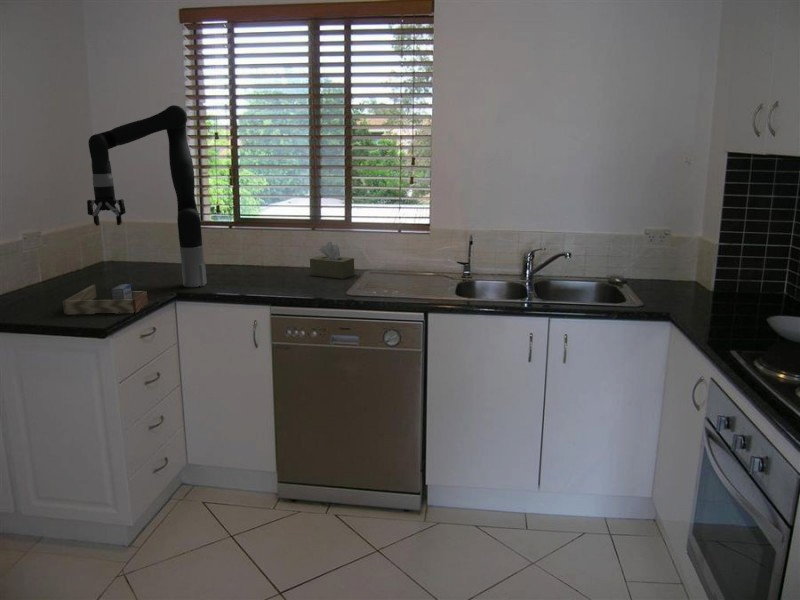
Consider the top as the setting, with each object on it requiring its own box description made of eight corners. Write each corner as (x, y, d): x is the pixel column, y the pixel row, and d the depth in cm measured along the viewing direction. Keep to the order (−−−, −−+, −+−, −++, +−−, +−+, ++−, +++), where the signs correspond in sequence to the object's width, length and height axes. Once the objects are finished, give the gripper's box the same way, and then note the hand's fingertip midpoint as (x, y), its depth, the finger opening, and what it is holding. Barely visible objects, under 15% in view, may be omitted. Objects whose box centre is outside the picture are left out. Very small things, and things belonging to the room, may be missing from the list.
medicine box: (126, 311, 246) (123, 288, 244) (113, 311, 246) (111, 288, 244) (133, 305, 254) (130, 283, 252) (121, 306, 254) (119, 284, 252)
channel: (158, 295, 270) (157, 283, 268) (136, 313, 243) (134, 299, 242) (93, 296, 268) (92, 284, 267) (64, 314, 242) (62, 301, 241)
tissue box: (309, 275, 306) (308, 241, 302) (321, 271, 315) (320, 238, 311) (343, 279, 297) (342, 244, 294) (355, 275, 306) (354, 241, 302)
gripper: (124, 184, 269) (129, 223, 273) (89, 184, 269) (94, 224, 273) (118, 185, 262) (122, 226, 266) (81, 186, 262) (86, 226, 266)
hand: (108, 225), depth 269 cm, fingers open, 8 cm apart
